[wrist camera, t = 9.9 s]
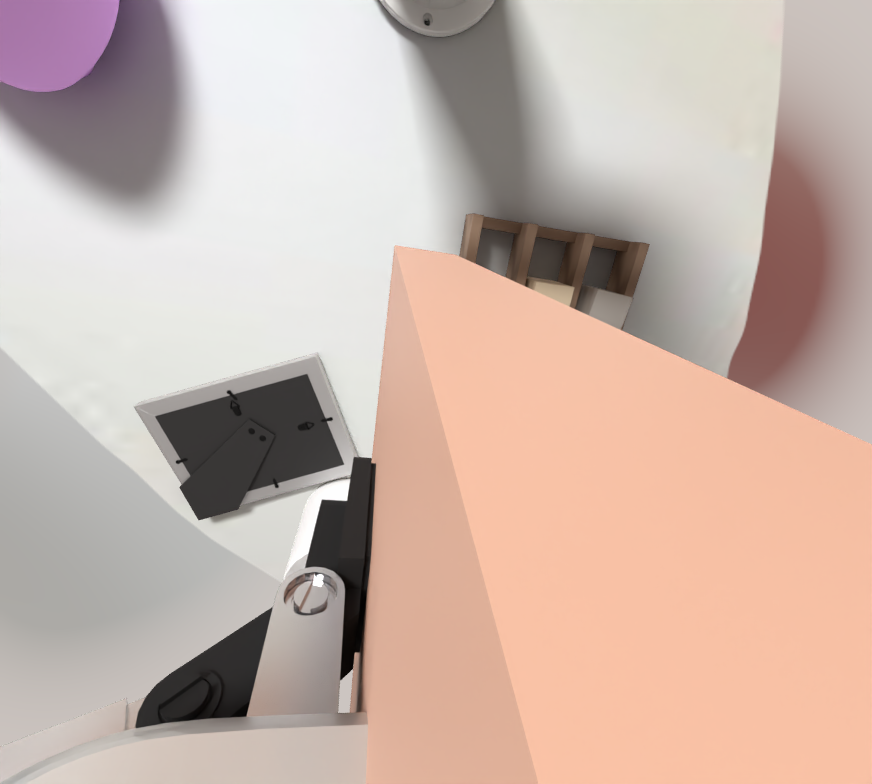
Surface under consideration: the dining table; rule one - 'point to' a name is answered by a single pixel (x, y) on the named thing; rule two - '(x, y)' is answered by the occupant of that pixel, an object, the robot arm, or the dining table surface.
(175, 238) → the dining table surface
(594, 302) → the grey offcut
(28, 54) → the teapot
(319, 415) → the picture frame
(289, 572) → the cup
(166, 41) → the dining table surface
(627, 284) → the offcut rack
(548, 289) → the birch offcut
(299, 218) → the dining table surface
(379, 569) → the plywood sheet
